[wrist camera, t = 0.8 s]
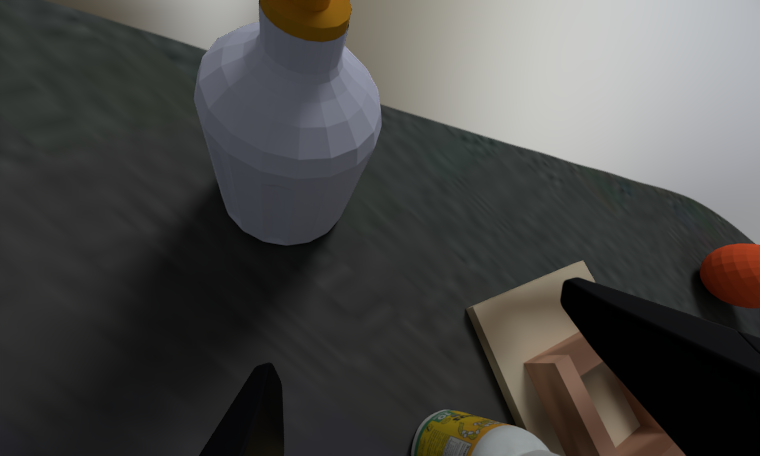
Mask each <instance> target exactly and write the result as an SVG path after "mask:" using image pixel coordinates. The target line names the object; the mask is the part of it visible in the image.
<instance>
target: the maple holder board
mask: <svg viewBox="0 0 760 456" xmlns="http://www.w3.org/2000/svg"><path fill="white" fill-rule="evenodd" d="M574 277H579V278H583V279H586V280H589V281H592V282H594V283H595V281H594V279H593V277H592V276H591V274H590V272H589V270H588V268H587V267H586V265H585V263H584V261H580V262H577V263H574V264H571V265H569V266H567V267H564V268H562V269H560V270H557V271H555V272H552V273H550V274H548V275H545V276H543V277H540V278H538V279H536V280H533V281H531V282H528V283H526V284H524V285H521V286H519V287H517V288H514V289H512V290H509V291H507V292H505V293H502V294H500V295H497V296H495V297H493V298H490V299H488V300H485V301H483V302H481V303H478V304H476V305H473V306H471V307H469V308H466V310H467V312H468V315H469V317H470V319H471V322H472V324H473V326H474V329H475V331H476V333H477V336H478V338H479V340H480V343H481V345H482V347H483V350H484V352H485V354H486V357H487V359H488V361H489V363H490V366H491V368H492V370H493V373H494V375H495V377H496V380H497V382H498V384H499V387H500V389H501V391H502V394H503V396H504V398H505V401H506V403H507V405H508V408H509V410H510V412H511V415H512V417H513V419H514V421H515V424H516V426H517V427H520V428H522V429H524V430H526V431H528V432H530V433H532V434H533V435H535V436H536V437H537V438H538V439H539V440H540V441H541V442H542V443H543V444H544V445H545V446H546V447H547V448H548V449H549V451H550V452H552V453H555V454H557V455H560V456H686V455H685V454H684V453H683V452H682V451H681V450H680V448H679V447H678V446H677V445H676V444H675V443H674V442H673V441H672V439H671V438H670V437H669V436H668V435H667V434H666V433H665V431H664V430H663V429H662V428H661V427H660V426H659V425H658V423H657V422H656V421H655V420H654V419H653V418H652V417H651V415H650V414H649V413H648V412H647V411H646V410H645V409H644V407H643V406H642V405H641V404H640V403H639V402H638V401H637V399H636V398H635V397H634V396H633V395H632V394H631V393H630V391H629V390H628V389H627V388H626V387H625V386H624V385H623V383H622V382H621V381H620V380H619V379H618V378H617V377H616V375H615V374H614V373H613V372H612V371H611V370H610V369H609V367H608V366H607V365H606V364H605V363H604V362H603V361H602V360H601V358H600V357H599V356H598V355H597V354H596V352H595V351H594V350H593V349H592V347H591V346H590V345H589V344H588V342H587V341H586V339H585V338H584V337H583V335H582V334H581V333H580V331H579V330H578V328H577V327H576V326H575V324H574V323H573V322H572V320H571V319H570V317H569V316H568V315H567V313H566V312H565V311H564V309H563V308H562V306H561V303H560V297H561V291H562V285H563V282H564V281H565V280H567V279H571V278H574Z"/></svg>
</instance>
